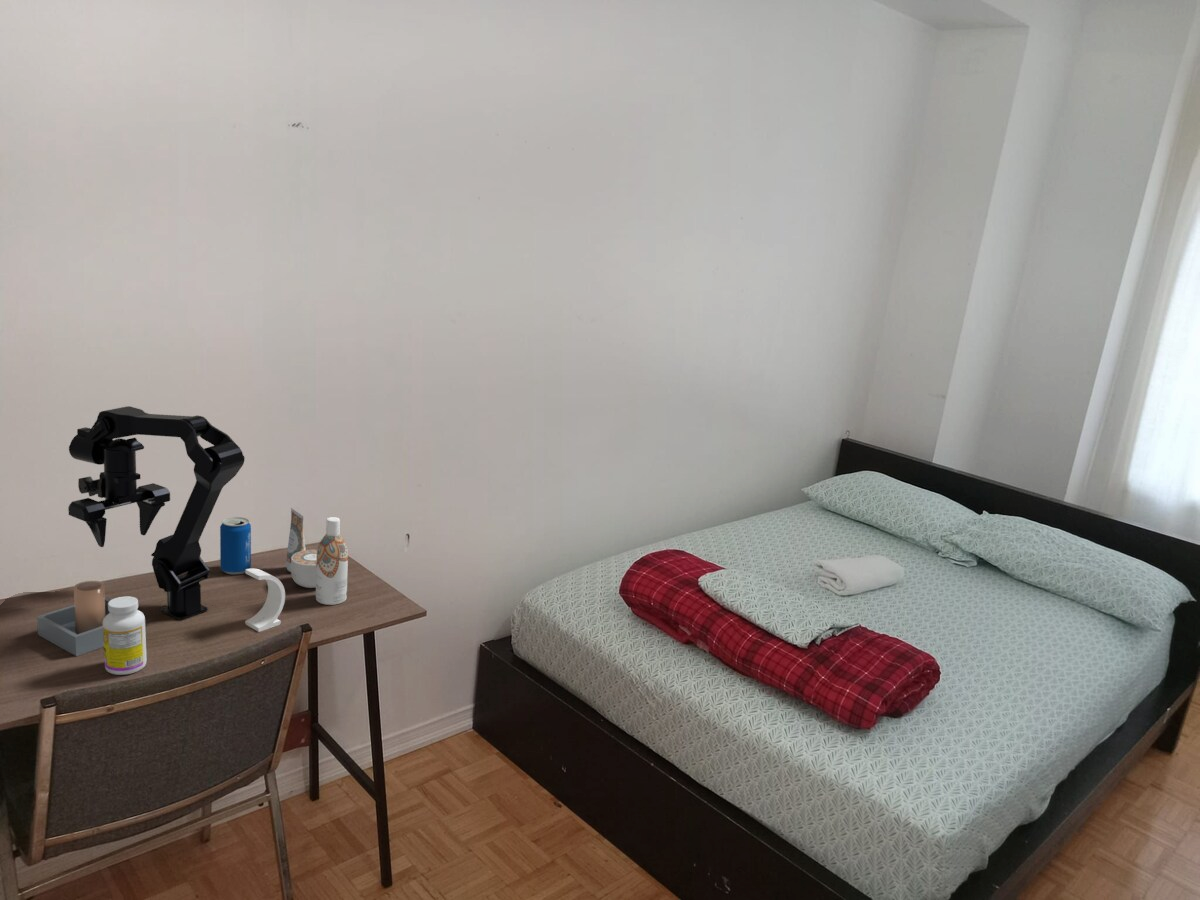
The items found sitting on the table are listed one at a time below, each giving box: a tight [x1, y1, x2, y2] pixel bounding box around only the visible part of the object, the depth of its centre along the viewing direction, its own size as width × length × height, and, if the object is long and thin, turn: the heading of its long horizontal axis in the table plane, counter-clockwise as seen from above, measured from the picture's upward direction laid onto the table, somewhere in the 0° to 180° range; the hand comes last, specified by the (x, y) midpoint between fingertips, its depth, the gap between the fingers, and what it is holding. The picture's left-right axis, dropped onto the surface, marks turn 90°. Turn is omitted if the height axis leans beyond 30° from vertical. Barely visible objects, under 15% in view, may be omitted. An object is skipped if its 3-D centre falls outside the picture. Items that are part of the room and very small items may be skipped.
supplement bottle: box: [103, 595, 148, 676], centre depth 156 cm, size 7×7×13 cm
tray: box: [36, 596, 112, 657], centre depth 167 cm, size 13×13×4 cm
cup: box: [73, 580, 106, 634], centre depth 166 cm, size 5×5×9 cm
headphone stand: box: [244, 568, 286, 633], centre depth 177 cm, size 5×6×12 cm
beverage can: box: [219, 516, 252, 575], centre depth 200 cm, size 6×6×12 cm
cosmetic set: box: [285, 507, 349, 606], centre depth 197 cm, size 25×9×19 cm, turn 42°
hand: (122, 540), depth 182 cm, fingers open, 9 cm apart
